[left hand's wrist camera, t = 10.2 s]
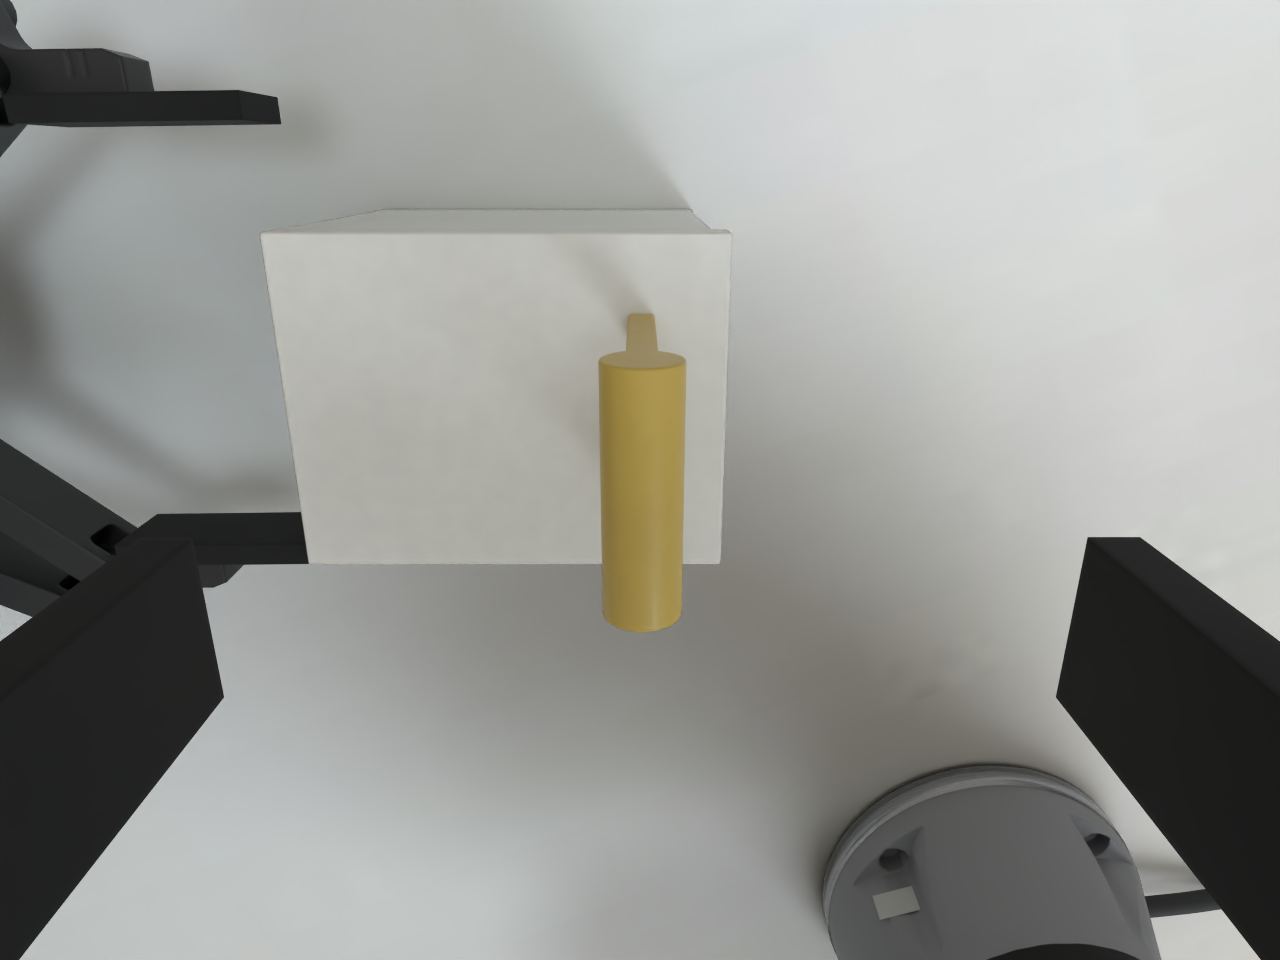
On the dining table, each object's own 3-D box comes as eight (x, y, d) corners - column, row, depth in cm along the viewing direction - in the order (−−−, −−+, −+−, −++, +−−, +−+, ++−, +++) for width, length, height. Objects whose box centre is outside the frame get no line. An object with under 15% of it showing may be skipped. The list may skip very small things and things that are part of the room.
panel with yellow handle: (729, 229, 23) (774, 261, 15) (717, 550, 26) (750, 711, 18) (273, 229, 23) (89, 262, 15) (319, 551, 26) (187, 711, 18)
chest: (691, 209, 33) (713, 228, 23) (686, 445, 36) (704, 550, 26) (383, 209, 33) (273, 228, 23) (406, 445, 36) (320, 550, 26)
